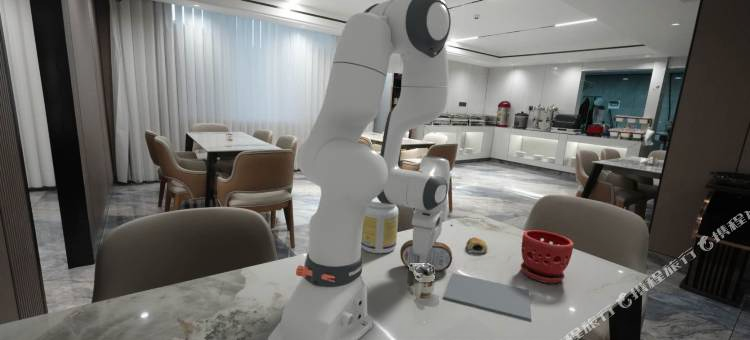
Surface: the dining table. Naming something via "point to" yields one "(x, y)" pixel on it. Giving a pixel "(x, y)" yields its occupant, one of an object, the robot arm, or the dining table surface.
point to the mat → (489, 296)
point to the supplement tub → (380, 227)
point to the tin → (428, 255)
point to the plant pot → (545, 255)
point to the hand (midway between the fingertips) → (426, 258)
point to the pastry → (476, 245)
